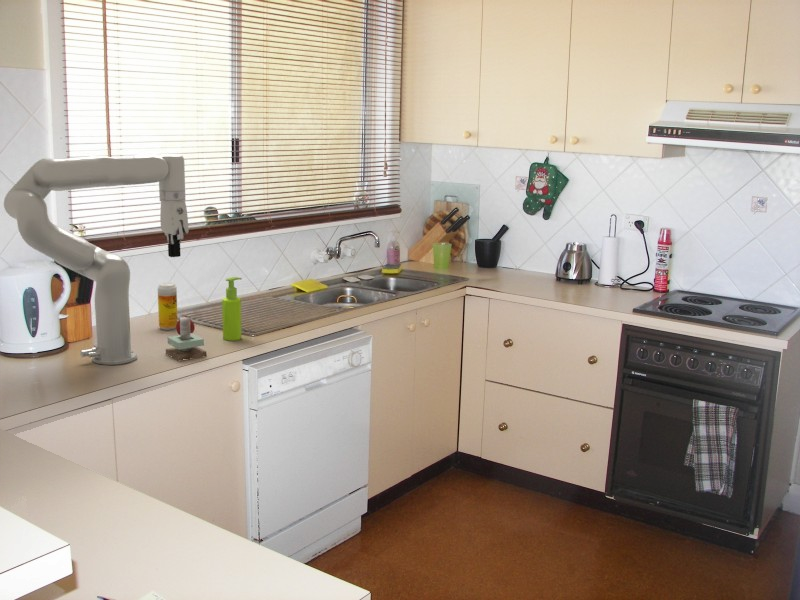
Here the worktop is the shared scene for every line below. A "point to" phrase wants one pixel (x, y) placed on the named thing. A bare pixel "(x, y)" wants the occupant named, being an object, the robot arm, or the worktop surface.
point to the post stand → (185, 335)
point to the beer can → (167, 306)
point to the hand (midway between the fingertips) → (174, 256)
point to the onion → (190, 326)
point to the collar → (185, 342)
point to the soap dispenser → (231, 312)
